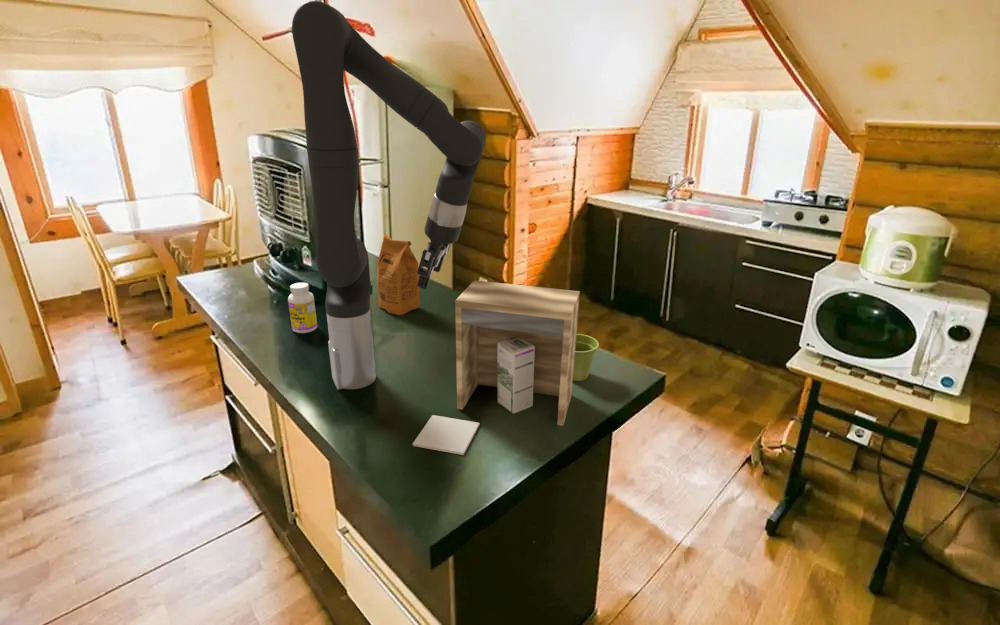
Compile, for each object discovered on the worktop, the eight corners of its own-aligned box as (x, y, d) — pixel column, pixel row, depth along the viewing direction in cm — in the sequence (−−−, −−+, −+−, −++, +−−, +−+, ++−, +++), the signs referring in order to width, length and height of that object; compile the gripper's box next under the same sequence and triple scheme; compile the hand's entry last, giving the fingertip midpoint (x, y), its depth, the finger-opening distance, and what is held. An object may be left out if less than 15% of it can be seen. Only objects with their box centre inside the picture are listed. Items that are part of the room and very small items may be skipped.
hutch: (563, 426, 107) (571, 313, 98) (457, 408, 113) (455, 300, 103) (571, 395, 118) (579, 291, 109) (474, 380, 123) (474, 280, 114)
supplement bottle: (286, 331, 147) (280, 287, 142) (303, 322, 152) (297, 279, 147) (306, 335, 144) (300, 290, 139) (322, 326, 150) (317, 283, 145)
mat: (463, 455, 98) (463, 452, 98) (412, 445, 101) (412, 443, 100) (479, 424, 107) (479, 422, 107) (432, 417, 110) (432, 414, 109)
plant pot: (603, 381, 124) (606, 347, 121) (566, 388, 121) (569, 354, 118) (583, 363, 132) (586, 331, 129) (548, 369, 129) (550, 336, 126)
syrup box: (533, 406, 114) (536, 344, 108) (511, 415, 111) (513, 352, 105) (517, 394, 118) (519, 334, 113) (495, 402, 115) (496, 341, 109)
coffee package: (399, 298, 171) (395, 230, 162) (424, 309, 163) (421, 238, 155) (373, 307, 164) (367, 236, 156) (398, 318, 156) (393, 245, 148)
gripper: (440, 199, 120) (424, 259, 129) (417, 222, 108) (401, 286, 117) (471, 211, 120) (453, 271, 129) (451, 236, 108) (433, 299, 117)
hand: (428, 278), depth 123 cm, fingers open, 8 cm apart
